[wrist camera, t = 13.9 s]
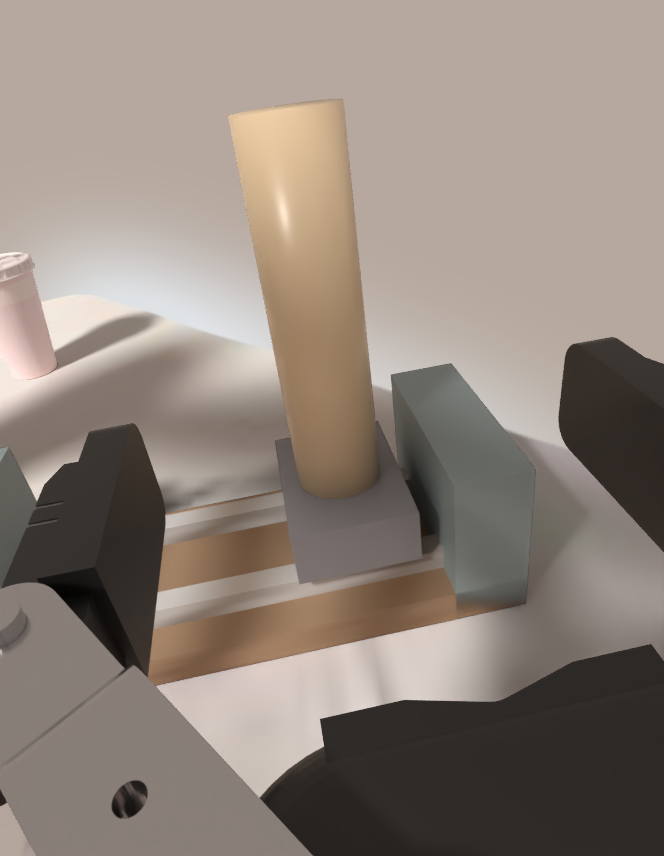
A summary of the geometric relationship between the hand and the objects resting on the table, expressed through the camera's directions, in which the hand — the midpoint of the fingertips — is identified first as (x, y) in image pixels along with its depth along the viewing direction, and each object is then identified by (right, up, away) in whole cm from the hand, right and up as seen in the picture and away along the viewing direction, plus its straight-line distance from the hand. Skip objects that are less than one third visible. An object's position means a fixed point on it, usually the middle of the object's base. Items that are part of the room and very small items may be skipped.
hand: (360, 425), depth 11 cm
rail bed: (-5, -7, +16) cm, 19 cm away
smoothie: (-27, +5, +42) cm, 50 cm away
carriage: (0, -4, +15) cm, 16 cm away
